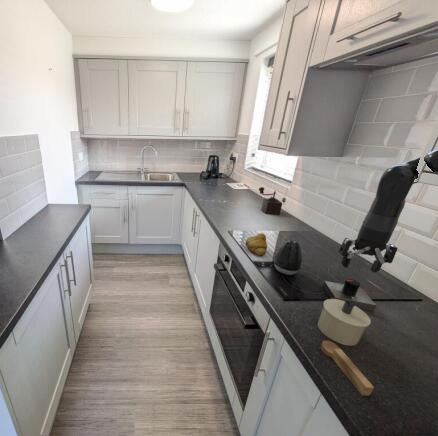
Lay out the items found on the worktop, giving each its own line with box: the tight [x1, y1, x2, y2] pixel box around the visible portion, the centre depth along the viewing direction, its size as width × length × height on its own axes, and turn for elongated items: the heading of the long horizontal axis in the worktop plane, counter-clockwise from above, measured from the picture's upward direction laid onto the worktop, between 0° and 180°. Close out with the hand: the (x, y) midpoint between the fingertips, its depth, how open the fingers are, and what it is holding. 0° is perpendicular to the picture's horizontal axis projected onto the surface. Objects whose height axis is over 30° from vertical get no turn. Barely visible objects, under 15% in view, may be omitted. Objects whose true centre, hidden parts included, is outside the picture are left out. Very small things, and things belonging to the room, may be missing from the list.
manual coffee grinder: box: [258, 186, 283, 216], centre depth 172 cm, size 16×11×18 cm
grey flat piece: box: [321, 280, 377, 313], centre depth 85 cm, size 12×10×3 cm
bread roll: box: [245, 233, 268, 256], centre depth 116 cm, size 13×10×8 cm
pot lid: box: [322, 298, 372, 328], centre depth 68 cm, size 11×11×4 cm
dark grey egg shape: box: [273, 239, 303, 276], centre depth 98 cm, size 10×10×15 cm
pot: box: [316, 306, 367, 347], centre depth 70 cm, size 10×10×7 cm
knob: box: [342, 278, 361, 296], centre depth 84 cm, size 4×4×5 cm
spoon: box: [320, 340, 375, 397], centre depth 60 cm, size 14×4×3 cm, turn 0°
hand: (358, 268), depth 81 cm, fingers open, 8 cm apart
